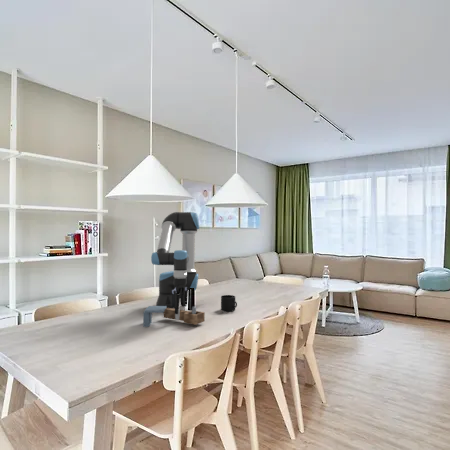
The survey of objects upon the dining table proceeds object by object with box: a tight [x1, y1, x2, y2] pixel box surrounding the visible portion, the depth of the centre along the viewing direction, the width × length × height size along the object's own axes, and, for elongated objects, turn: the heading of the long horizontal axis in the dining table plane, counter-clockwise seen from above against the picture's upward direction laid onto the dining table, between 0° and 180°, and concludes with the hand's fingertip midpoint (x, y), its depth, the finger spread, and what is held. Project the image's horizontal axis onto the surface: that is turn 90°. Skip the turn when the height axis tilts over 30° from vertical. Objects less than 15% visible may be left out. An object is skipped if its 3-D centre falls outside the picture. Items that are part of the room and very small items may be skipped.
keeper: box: [142, 305, 167, 328], centre depth 184 cm, size 11×11×9 cm
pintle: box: [191, 305, 197, 326], centre depth 184 cm, size 2×2×10 cm
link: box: [163, 308, 206, 326], centre depth 188 cm, size 25×8×5 cm, turn 58°
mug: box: [220, 294, 238, 313], centre depth 217 cm, size 9×12×9 cm
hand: (179, 318), depth 189 cm, fingers closed on link, 3 cm apart
